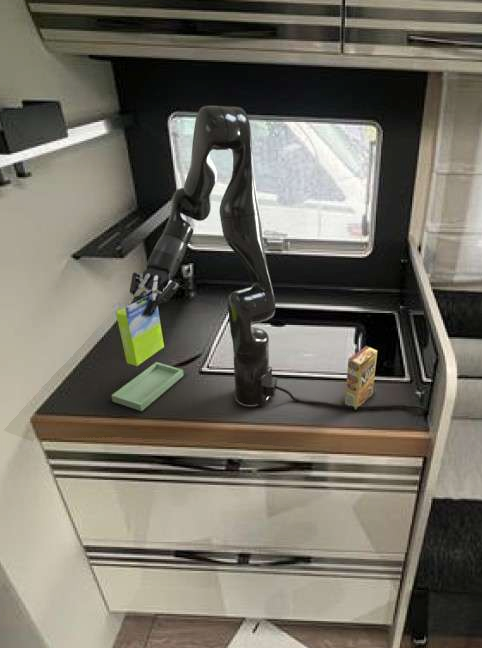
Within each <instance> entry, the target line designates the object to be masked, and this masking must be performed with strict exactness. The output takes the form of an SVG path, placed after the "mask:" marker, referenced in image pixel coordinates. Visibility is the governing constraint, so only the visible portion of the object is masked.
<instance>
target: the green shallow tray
mask: <svg viewBox="0 0 482 648" xmlns="http://www.w3.org/2000/svg"><path fill="white" fill-rule="evenodd" d="M184 373H185V372H184V369H181V368H179V367H175V366H171V365H168V364H164V363H162V362H158V361H156V362H155V363H153V364H152V365H150V366H149V367H147V368H146V369H144V371H142V372H140V374H138V375H136V377H134V378H132V379H131V380H130V381H129V382H127V383H125V384H124V385H123V386H122V387H121V388H119V389H117V391H115V392H113V393H112V394H111V401H112V402H113V403H116V404H119V405H121V406H125V407H128V408H131V409H133V410H135V411H136V410H137V411H139V412H143V411H144V410H145V409H146V408H148V407H149V406H150V405H151V404H152V403H153V402H155V401H156V400H157V399H158V398H159V397H160V396H161V395H163V394H164V393H165V392H166V391H167V390H169V388H171V387H172V386H173V385H174V384H176V383H177V382H178V381H179V380H180V379H182V378H183V377H184Z"/></svg>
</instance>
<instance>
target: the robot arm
mask: <svg viewBox="0 0 482 648" xmlns="http://www.w3.org/2000/svg"><path fill="white" fill-rule="evenodd" d="M192 136H193V137H192V146H191V158H190V165H189V169H188V172H187V175H186V178H185V182H184V184H183V187H180V188H178V189H176V190H175V191H174V193H173V195H172V197H171V204H170V205H171V206H170V213H169V218H168V221H167V223H166V226H165V228H164V230H163V232H162V234H161V236H160V237H159V239H158V240H157V242H156V244H155V246H154V248H153V250H152V252H151V254H150V256H149V258H148V260H147V262H146V269H145V270H144V271H143V272H142V273H138V272H135V271H134V272H133V273H132V274H131V282H130V287H129V293H130V294H132V295H133V299H132V301H131V303H130V305H131V304H133V303H135V302H137V301H139V300H140V299H142V298H144V297H146V296H148V294H152V298H151V300H152V301H149V303H148V306H147V308H146V310H145V312H144V314H145V315H147V316H149V317H151V316H152V315H153V314H154V313H155V310H156V308H157V306H158V307H159V305H160V304H167V303H168V302H169V301H170V300H171V298H172V297H173V296H174V295H175V294H176V292H177V291H178V290H179V288H180V284H178V283H177V282H175V281H174V280H173V277H174V276H175V275H176V274H177V271H178V269H179V267H180V265H181V263H182V261H183V258H184V256H185V254H186V250H187V247H188V245H189V244H190V243H189V242H190V241H191V238H192V236H193V235H194V230H195V229H194V226H192V224H190V223H189V222H188V221H186V220H185V219H184V218H183V217H182V216H181V215H184V216H186V217H188V218H190V219H192V220H195V221H197V222H202V221H205V220H206V219H208V217H209V215H210V213H211V209H212V198H211V195H212V192H213V190H214V187H215V186H216V182H217V177H218V174H217V169H216V167H215V164H214V163H213V161H212V160H211V157H210V154H211V152H212V151H214V150H215V151H229V150H230V151H231V154H232V171H231V176H230V179H229V182H228V184H227V187H226V189H225V191H224V194H223V196H222V198H221V201H220V205H219V217H220V224H221V230H222V235H223V238H224V240H225V242H226V243H227V245H228V246H229V247H230V249H231V250H232V251H233V252H234V253H235V254H236V256H238V258H239V259H240V260H241V261H242V262H243V264H244V265H245V268H246V269H247V272H248V274H249V277H250V282H251V286H249V287H246V288H242V289H238V290H235V291H233V292H231V293H230V294H229V296H228V298H227V312H228V322H229V331H230V337H231V340H232V351H233V353H232V354H233V355H232V356H233V373H234V374H233V375H234V398H235V399H234V400H235V402H236V403H237V404H238V405H239V406H241V407H243V408H250V409H251V408H263V406H265V404H266V403H267V402H268V401H269V399H270V398H271V397H274V396H275V394H276V390H278V391H281V392H284V393H286V394H287V395H288V396H289V397H290V398H291V399H292V400H293V401H294V402H298V403H301V404H308V405H320V406H321V405H322V406H328V407H333V408H334V407H335V408H341V409H352V410H353V409H354V410H355V408H354V407H353V406H348V405H346V404H338V403H333V402H332V403H331V402H325V401H315V400H303V399H301V398H300V399H299V398H297V397H295V396H294V395H293V394H292V393H291V391H289V390H288V389H286V388H284V387H281V386H278V377H275V376H273V367H272V366H270V338H269V334H268V333H267V331H266V330H264V329H263V328H259V327H254V326H253V325H256V324H259V323H262V322H264V321H267V320H270V319H272V318H273V317H274V316H275V313H276V297H275V293H274V287H273V284H272V280H271V276H270V272H269V267H268V263H267V256H266V251H265V244H264V237H263V228H262V227H263V226H262V221H261V214H260V208H259V202H258V197H257V196H258V195H257V190H256V189H257V188H256V181H255V174H254V173H255V172H254V159H253V143H252V129H251V124H250V119H249V118H248V114H247V112H246V111H245V110H244V109H243V108H242V107H239V106H230V105H228V106H227V105H204V106H202V107H200V109H199V110H198V112H197V114H196V118H195V122H194V127H193V135H192ZM387 408H388V409H389V408H409V409H418V410H421V411H424V412H425V413H427V412H426V410H424V408H425V407H424V406H422V405H414V404H413V405H412V404H401V403H400V404H398V403H397V404H382V405H381V404H379V405H361V406H358V407H357V409H356V410H365V409H387Z"/></svg>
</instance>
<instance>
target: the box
mask: <svg viewBox="0 0 482 648" xmlns="http://www.w3.org/2000/svg"><path fill="white" fill-rule="evenodd" d="M151 298H152V293H150V294H149V295H146V296H145V297H144V298H142V299H140V300H139V301H137V302H135V303H133V304H131V303H130V304H129V305H127V306H125V307H123V308H121V309H119V310H118V311H115V316H116V320H117V325H118V329H119V334H120V338H121V342H122V347H123V351H124V357H125V362H126V364H128V365H131V366H134V367H139V366H140V365H141V364H142V363H144V362H145V361H147V360H148V359H149V358H151V357H152V356H154V355H155V354H156V353H158V352H159V351H161V350H162V349H164V348H165V344H164V337H163V331H162V326H161V319H160V312H159V305H158V306H157V308H156V310H155V313H154V314H153V315H152V316H151V317H149V316H147V315H145V314H144V312H145V310H146V308H147V306H148V303H149V301H152V300H151Z"/></svg>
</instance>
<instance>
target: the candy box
mask: <svg viewBox="0 0 482 648" xmlns="http://www.w3.org/2000/svg"><path fill="white" fill-rule="evenodd" d="M377 358H378V350H377V349H375V348H372V347H370V346H368V345H365V346H364V347H363V348H361V349H360V350H358V351H357V352H356V353H355V354H353V355H352V356H351V357H349V358H348V360H347V361H348V362H347V372H346V373H347V374H346V384H345V385H346V386H345V397H344V405H347V406H353V407H354V408H355V409H354V410H358V409H357V407H358V406H363V404H364V403H365V402H366V401H367V400H368V399H369V398H370V397H372V395H373V392H374V385H375V384H374V383H375V376H376V375H375V374H376V366H377Z"/></svg>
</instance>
